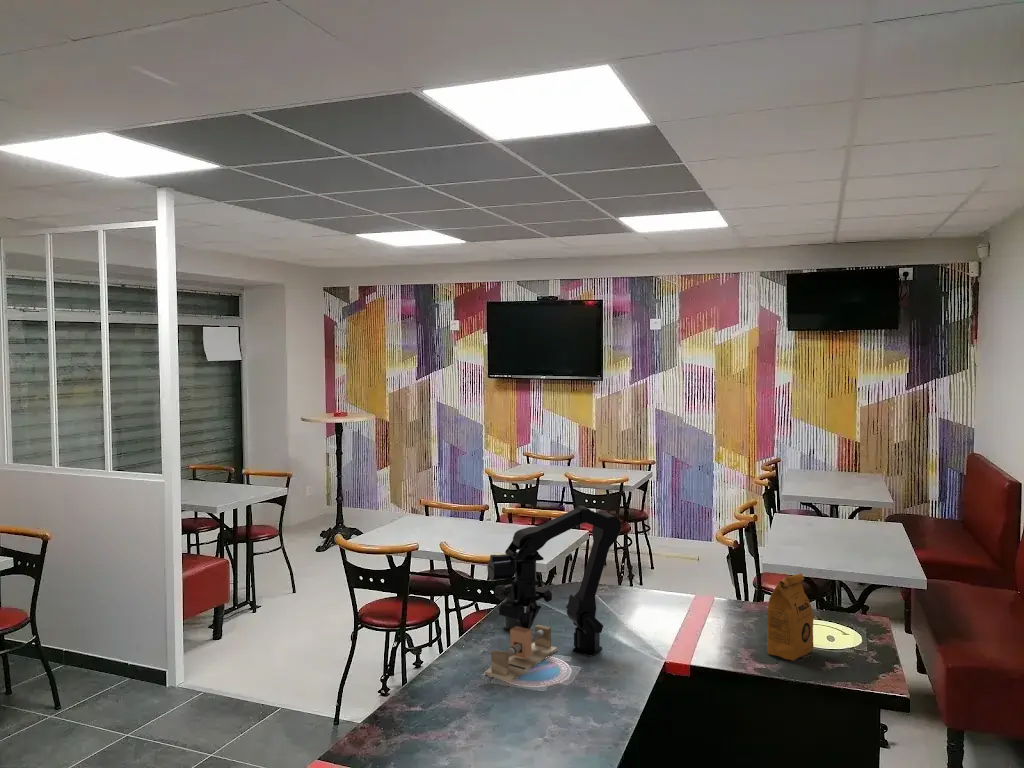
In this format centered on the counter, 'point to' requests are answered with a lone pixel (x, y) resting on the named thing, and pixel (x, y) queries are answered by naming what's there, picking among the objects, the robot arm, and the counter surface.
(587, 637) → the robot arm
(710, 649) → the counter surface
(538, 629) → the pipe stand
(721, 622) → the counter surface
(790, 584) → the coffee package
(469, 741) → the counter surface
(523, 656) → the brown block with hole
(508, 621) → the supplement bottle
